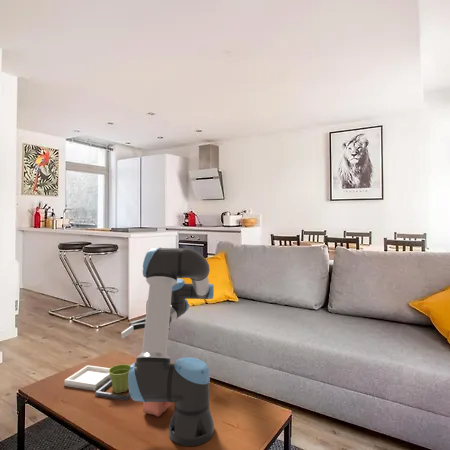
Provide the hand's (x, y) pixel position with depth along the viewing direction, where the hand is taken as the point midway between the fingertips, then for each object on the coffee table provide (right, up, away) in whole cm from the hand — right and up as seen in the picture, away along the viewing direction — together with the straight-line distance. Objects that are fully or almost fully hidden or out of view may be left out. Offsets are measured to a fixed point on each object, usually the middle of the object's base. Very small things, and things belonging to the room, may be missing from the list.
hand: (133, 340), depth 140 cm
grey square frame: (-5, -19, -3) cm, 20 cm away
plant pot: (-5, -20, -3) cm, 20 cm away
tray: (-20, -19, +5) cm, 28 cm away
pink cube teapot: (+13, -20, -18) cm, 30 cm away
